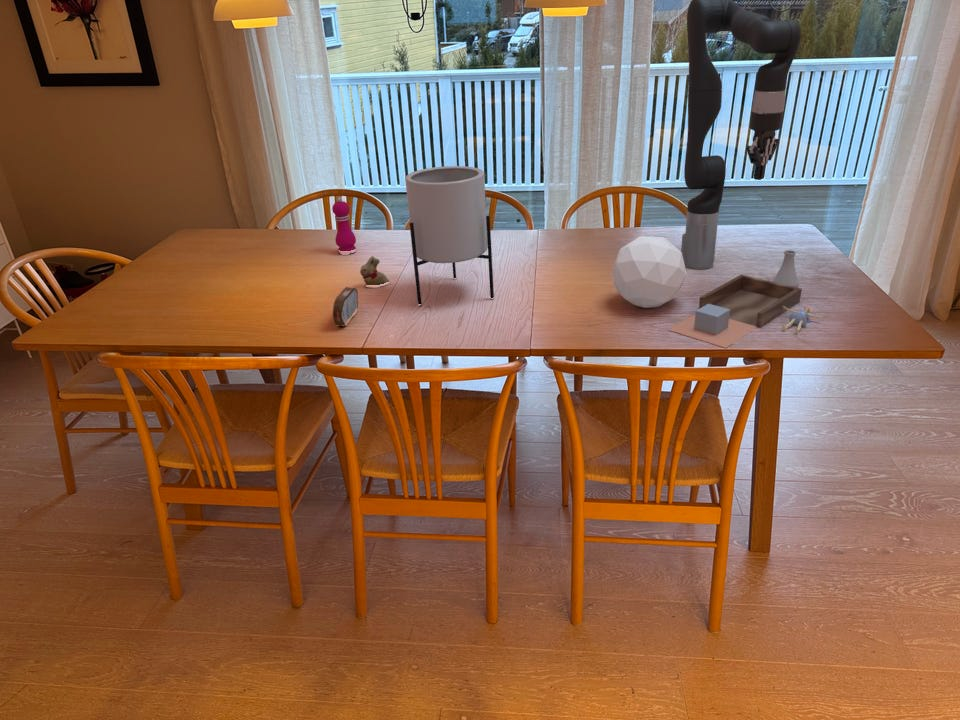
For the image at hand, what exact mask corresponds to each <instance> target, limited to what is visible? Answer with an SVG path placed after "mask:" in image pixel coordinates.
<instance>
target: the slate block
mask: <svg viewBox="0 0 960 720" xmlns="http://www.w3.org/2000/svg"><path fill="white" fill-rule="evenodd" d="M694 315H695V324H694V329H696V330H699V331H703V332H706V333H709V334H712V335H717V334H719V333H720V332H722V331H724V330H725V329H727V328H728V324H729V315H730V309H726V308H723V307H719V306H715V305H712V304H707V305H705V306H703V307H702V308H700V309H699V308H698V309H696V310H695V314H694Z"/></svg>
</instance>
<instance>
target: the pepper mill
mask: <svg viewBox="0 0 960 720" xmlns="http://www.w3.org/2000/svg"><path fill="white" fill-rule="evenodd" d="M350 208H351V207H350V205H349V204H348V202H346V201H345V200H344V201H343V197H340V196H338V197H337V198H336V202H334V204H333V205H332V213H333V214H334V215H335V216H334V218H335V221H336V223H337V232H336V235H335V245H336V246H337V247H338V248H337V251H338V250H340V251H351V250H354V249H356V250H357V248H356V246H355V244H356V243H357V238H356V235H355V233H354V231H353V230H352V229H351V226H350V222H349V220H350V214H349V213H350V211H351V209H350Z"/></svg>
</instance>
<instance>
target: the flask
mask: <svg viewBox="0 0 960 720" xmlns="http://www.w3.org/2000/svg"><path fill="white" fill-rule="evenodd" d="M796 253H797V251H796V250H791V249H786V250H785V249H784V251H783V254H784V257H783V261H782V263H781V266H780V268H779V270H778V272H777V273H776V275H775V277H774V279H773V280H772V282H775V283H780V284H784V285H788V286H793V287H797V288H799V285H800V284H799V280H798V277H797V276H798V275H797V271H796V267H795V256H796Z"/></svg>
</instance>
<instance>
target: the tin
mask: <svg viewBox="0 0 960 720" xmlns="http://www.w3.org/2000/svg"><path fill="white" fill-rule="evenodd" d="M357 308H358V309H359V295H358V290H357V288H355V287H349V286H345V287H344V288H343V289H342V291H340V293H338V295H337V296H336V298H335V300H334V303H333V307H332V319H333V322H334V326H336V325H345V323H346V321H347V320H348V319H349V318H350V317H351V316H352V314H353V313H354V312H355V310H356V309H357Z"/></svg>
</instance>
